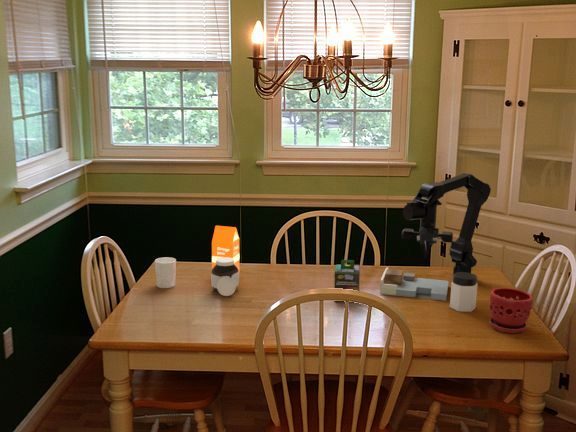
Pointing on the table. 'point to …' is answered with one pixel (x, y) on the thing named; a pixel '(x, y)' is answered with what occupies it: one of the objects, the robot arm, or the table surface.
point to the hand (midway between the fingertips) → (425, 257)
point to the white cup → (165, 272)
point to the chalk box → (347, 275)
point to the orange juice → (225, 244)
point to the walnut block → (393, 277)
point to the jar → (463, 292)
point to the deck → (416, 288)
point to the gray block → (409, 277)
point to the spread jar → (225, 276)
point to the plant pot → (509, 309)
